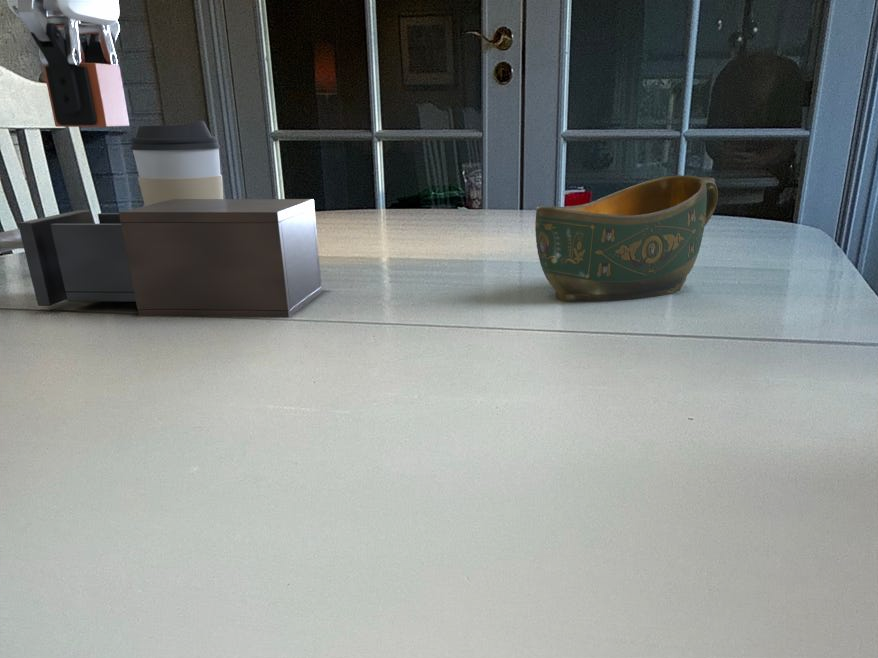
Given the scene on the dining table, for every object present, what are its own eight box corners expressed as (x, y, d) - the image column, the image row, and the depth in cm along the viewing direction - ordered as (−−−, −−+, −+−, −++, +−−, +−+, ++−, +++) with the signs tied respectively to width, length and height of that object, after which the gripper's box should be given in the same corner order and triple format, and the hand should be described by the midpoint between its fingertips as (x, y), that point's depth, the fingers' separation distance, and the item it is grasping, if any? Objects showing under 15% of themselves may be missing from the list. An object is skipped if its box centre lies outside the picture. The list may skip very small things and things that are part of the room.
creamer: (749, 302, 84) (766, 182, 79) (539, 309, 82) (543, 185, 77) (701, 280, 95) (713, 173, 90) (516, 285, 93) (517, 176, 88)
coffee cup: (137, 281, 97) (107, 121, 89) (180, 269, 105) (155, 120, 97) (213, 284, 95) (189, 121, 87) (251, 271, 103) (232, 119, 95)
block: (55, 126, 74) (41, 62, 71) (80, 125, 77) (69, 65, 75) (106, 126, 73) (94, 62, 71) (129, 126, 77) (119, 65, 75)
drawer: (-21, 305, 81) (-43, 222, 77) (43, 284, 90) (25, 209, 87) (173, 307, 79) (158, 223, 76) (215, 285, 89) (204, 210, 86)
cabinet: (138, 318, 80) (118, 211, 75) (189, 293, 90) (174, 199, 86) (289, 320, 79) (277, 212, 74) (322, 294, 89) (313, 199, 85)
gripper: (48, -134, 73) (96, 123, 83) (-83, -194, 59) (-7, 126, 68) (136, -136, 73) (175, 123, 82) (25, -197, 58) (87, 126, 68)
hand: (92, 121), depth 75 cm, fingers closed on block, 4 cm apart
